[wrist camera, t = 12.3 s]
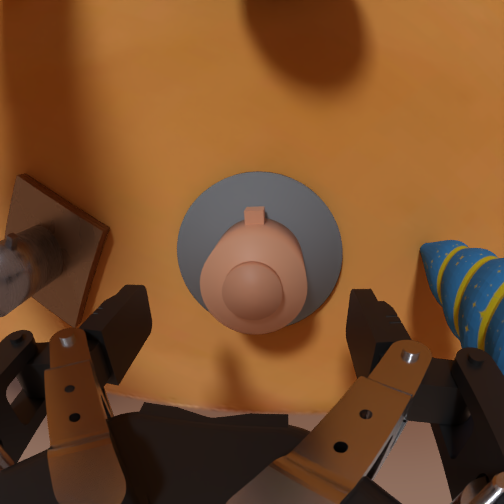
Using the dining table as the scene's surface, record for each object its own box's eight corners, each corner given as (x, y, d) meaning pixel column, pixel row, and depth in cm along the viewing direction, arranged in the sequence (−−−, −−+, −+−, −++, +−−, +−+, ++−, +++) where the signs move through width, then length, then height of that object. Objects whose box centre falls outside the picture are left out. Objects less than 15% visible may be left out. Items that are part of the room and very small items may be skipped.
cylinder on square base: (25, 173, 19) (-42, 189, 13) (109, 227, 20) (46, 263, 13) (7, 266, 22) (-46, 298, 16) (80, 322, 23) (32, 371, 16)
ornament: (374, 247, 19) (508, 436, 5) (429, 189, 17) (629, 285, 3) (419, 297, 20) (534, 470, 5) (469, 244, 18) (626, 369, 4)
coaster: (225, 140, 18) (224, 140, 17) (371, 227, 18) (374, 229, 18) (157, 278, 21) (153, 282, 20) (285, 347, 22) (286, 352, 21)
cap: (302, 203, 18) (308, 222, 14) (302, 308, 20) (306, 351, 16) (211, 207, 18) (189, 226, 14) (220, 309, 20) (205, 350, 16)
